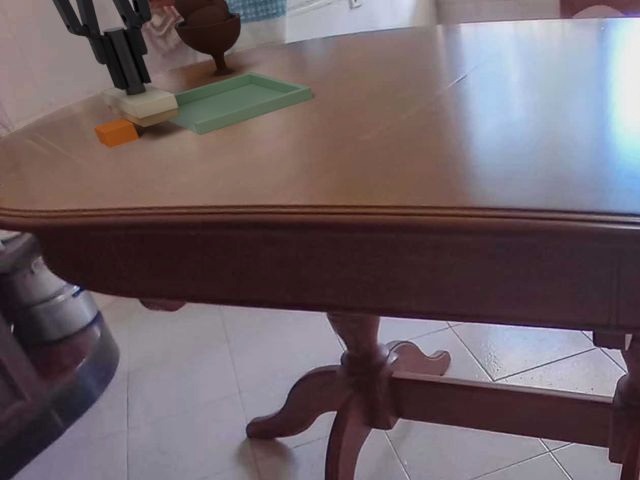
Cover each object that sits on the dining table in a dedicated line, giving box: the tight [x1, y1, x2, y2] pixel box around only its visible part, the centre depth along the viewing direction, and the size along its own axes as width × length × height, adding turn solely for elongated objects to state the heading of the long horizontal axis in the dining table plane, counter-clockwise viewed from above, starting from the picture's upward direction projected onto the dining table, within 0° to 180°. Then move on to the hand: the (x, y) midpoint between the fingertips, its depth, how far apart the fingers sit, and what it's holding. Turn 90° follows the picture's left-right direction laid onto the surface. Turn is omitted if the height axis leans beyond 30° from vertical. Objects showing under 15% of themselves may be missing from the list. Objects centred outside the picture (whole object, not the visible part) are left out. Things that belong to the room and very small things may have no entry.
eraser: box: [93, 117, 140, 149], centre depth 96 cm, size 4×4×3 cm
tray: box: [166, 71, 314, 136], centre depth 105 cm, size 18×18×2 cm
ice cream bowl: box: [173, 0, 242, 78], centre depth 118 cm, size 11×11×15 cm
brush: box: [100, 26, 179, 128], centre depth 94 cm, size 12×5×11 cm, turn 44°
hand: (133, 84), depth 95 cm, fingers closed on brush, 3 cm apart
